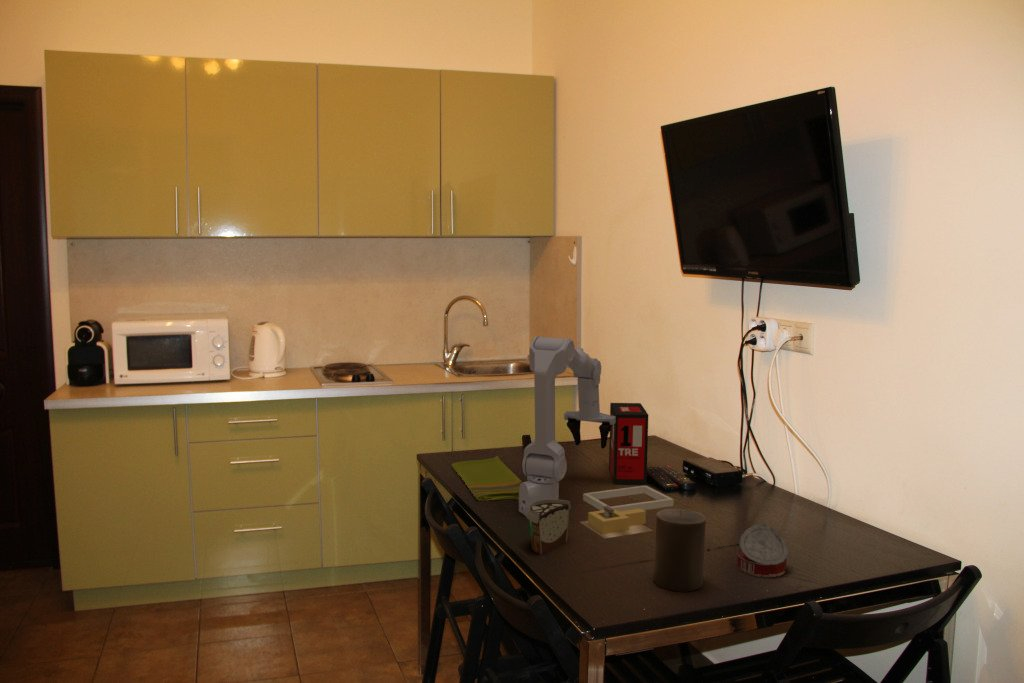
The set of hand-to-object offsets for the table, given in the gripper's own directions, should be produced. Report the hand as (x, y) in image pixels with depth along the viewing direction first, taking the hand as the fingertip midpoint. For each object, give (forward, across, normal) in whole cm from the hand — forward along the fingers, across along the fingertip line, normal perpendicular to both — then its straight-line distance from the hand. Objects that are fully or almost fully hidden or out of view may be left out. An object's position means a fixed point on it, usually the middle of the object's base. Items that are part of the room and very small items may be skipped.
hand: (590, 445), depth 233 cm
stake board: (+5, -19, +35) cm, 40 cm away
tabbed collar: (+4, -20, +34) cm, 39 cm away
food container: (+2, -9, +53) cm, 54 cm away
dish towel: (+9, +26, +14) cm, 30 cm away
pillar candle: (+1, -40, +57) cm, 70 cm away
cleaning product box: (+12, -8, -8) cm, 17 cm away
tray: (+8, -16, +17) cm, 25 cm away
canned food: (+4, -54, +43) cm, 69 cm away
